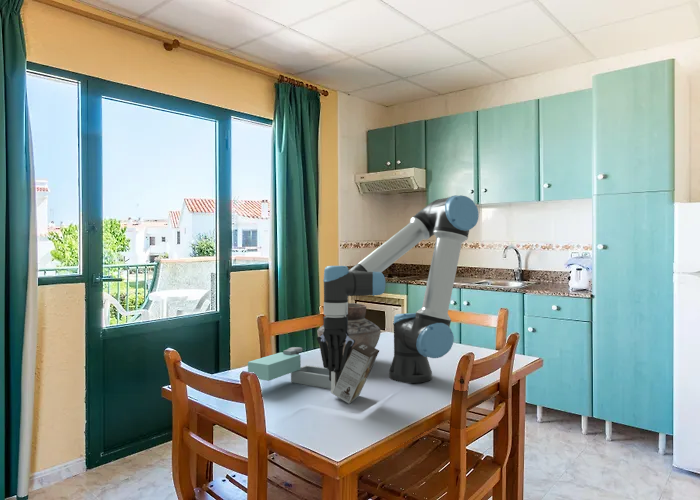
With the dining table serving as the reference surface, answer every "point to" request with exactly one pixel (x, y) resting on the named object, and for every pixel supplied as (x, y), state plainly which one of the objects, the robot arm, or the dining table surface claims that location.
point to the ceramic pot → (359, 326)
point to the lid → (276, 364)
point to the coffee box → (355, 372)
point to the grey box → (312, 376)
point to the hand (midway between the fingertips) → (335, 391)
